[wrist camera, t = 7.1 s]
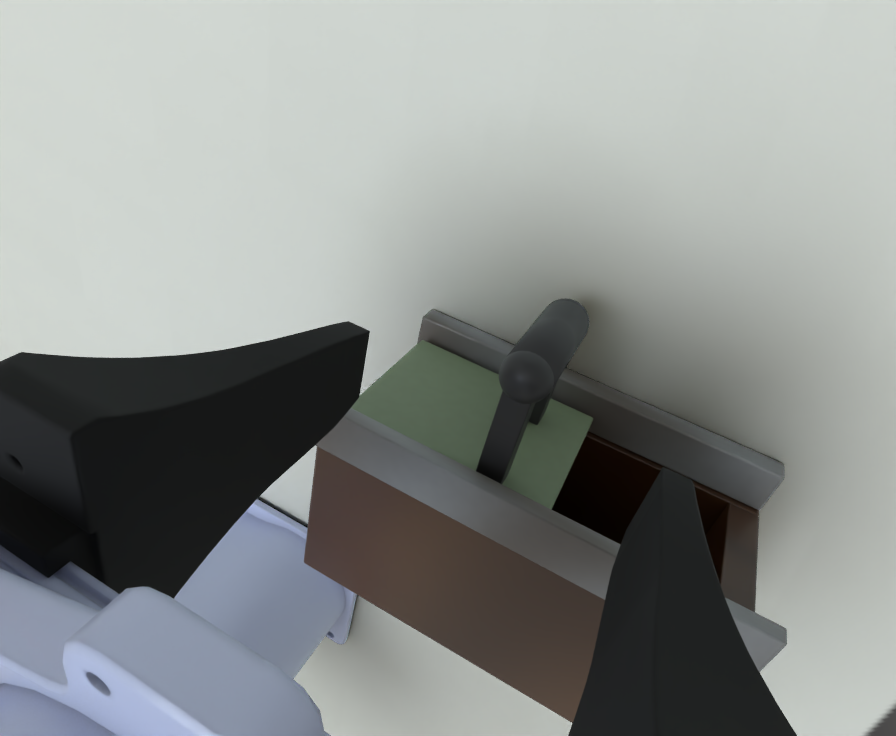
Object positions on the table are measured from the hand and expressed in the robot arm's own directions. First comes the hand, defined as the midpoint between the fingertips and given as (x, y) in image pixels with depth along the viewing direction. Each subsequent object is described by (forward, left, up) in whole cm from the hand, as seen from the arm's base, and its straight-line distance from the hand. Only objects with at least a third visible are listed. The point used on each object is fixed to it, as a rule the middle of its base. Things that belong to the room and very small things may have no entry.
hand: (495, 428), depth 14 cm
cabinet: (+1, -7, -8) cm, 11 cm away
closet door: (-1, -1, -7) cm, 7 cm away
